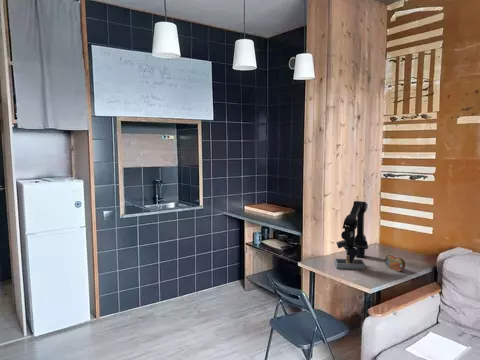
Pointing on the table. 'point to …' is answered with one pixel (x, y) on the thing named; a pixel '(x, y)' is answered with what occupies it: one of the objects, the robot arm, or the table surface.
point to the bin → (355, 266)
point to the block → (348, 260)
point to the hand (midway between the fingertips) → (349, 260)
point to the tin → (395, 263)
